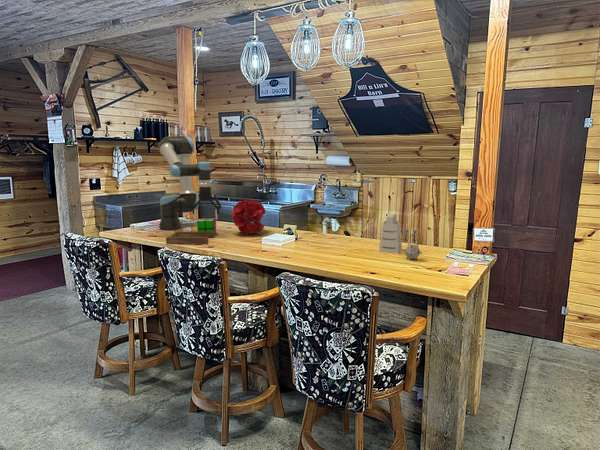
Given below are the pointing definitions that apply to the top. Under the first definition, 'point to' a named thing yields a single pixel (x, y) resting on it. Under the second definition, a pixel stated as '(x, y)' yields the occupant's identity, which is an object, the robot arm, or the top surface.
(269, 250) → the top surface
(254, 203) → the bouquet
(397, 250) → the grater
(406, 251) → the game die
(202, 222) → the puzzle cube
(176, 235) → the brown wooden slab
